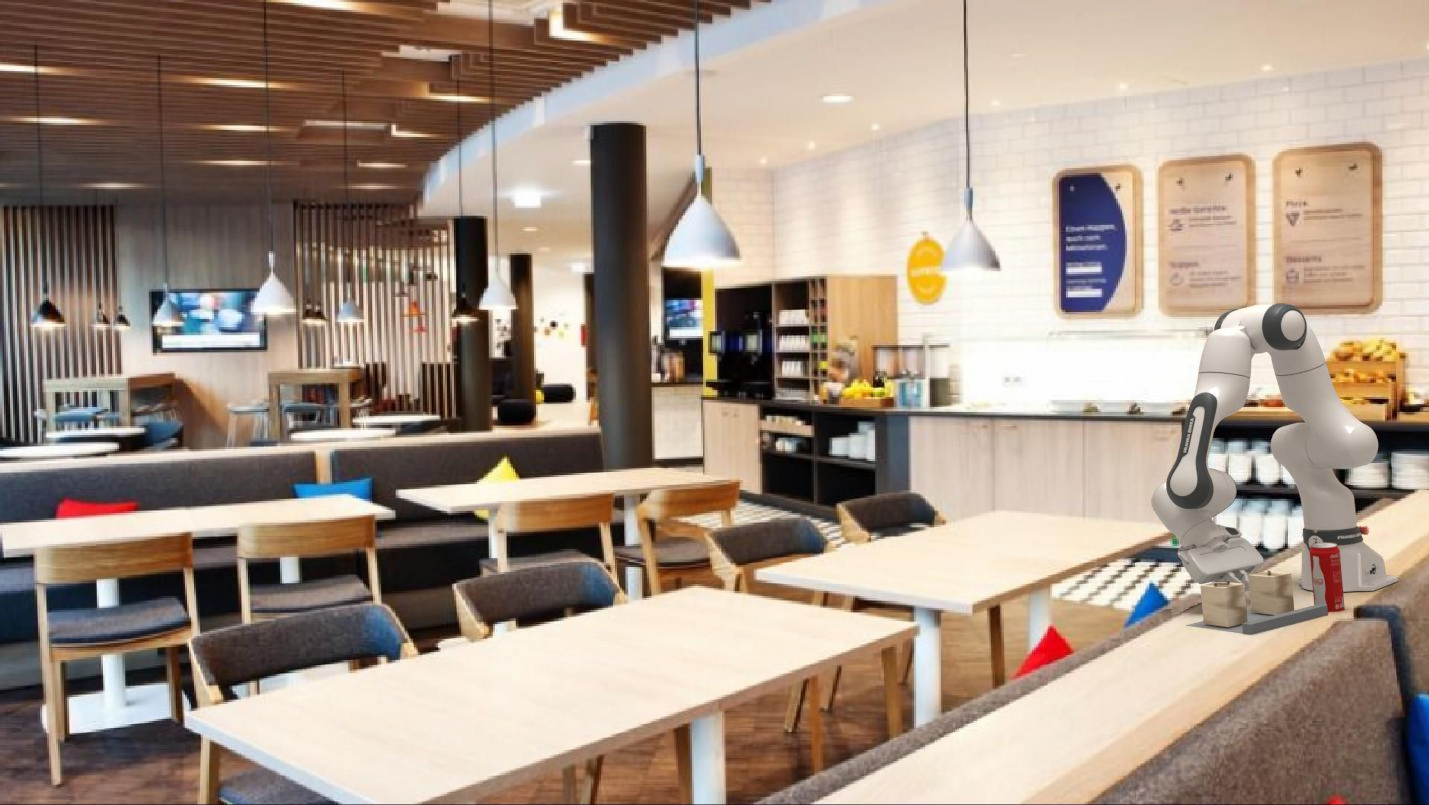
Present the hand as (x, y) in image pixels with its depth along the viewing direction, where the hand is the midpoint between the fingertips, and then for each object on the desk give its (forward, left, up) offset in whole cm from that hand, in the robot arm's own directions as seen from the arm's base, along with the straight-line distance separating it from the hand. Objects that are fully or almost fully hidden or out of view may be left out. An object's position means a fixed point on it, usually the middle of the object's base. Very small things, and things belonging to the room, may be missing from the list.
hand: (1247, 590), depth 264 cm
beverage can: (-9, +13, -6) cm, 17 cm away
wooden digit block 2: (+15, +6, -4) cm, 17 cm away
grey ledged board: (+8, +8, -5) cm, 12 cm away
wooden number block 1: (0, +6, -4) cm, 7 cm away
